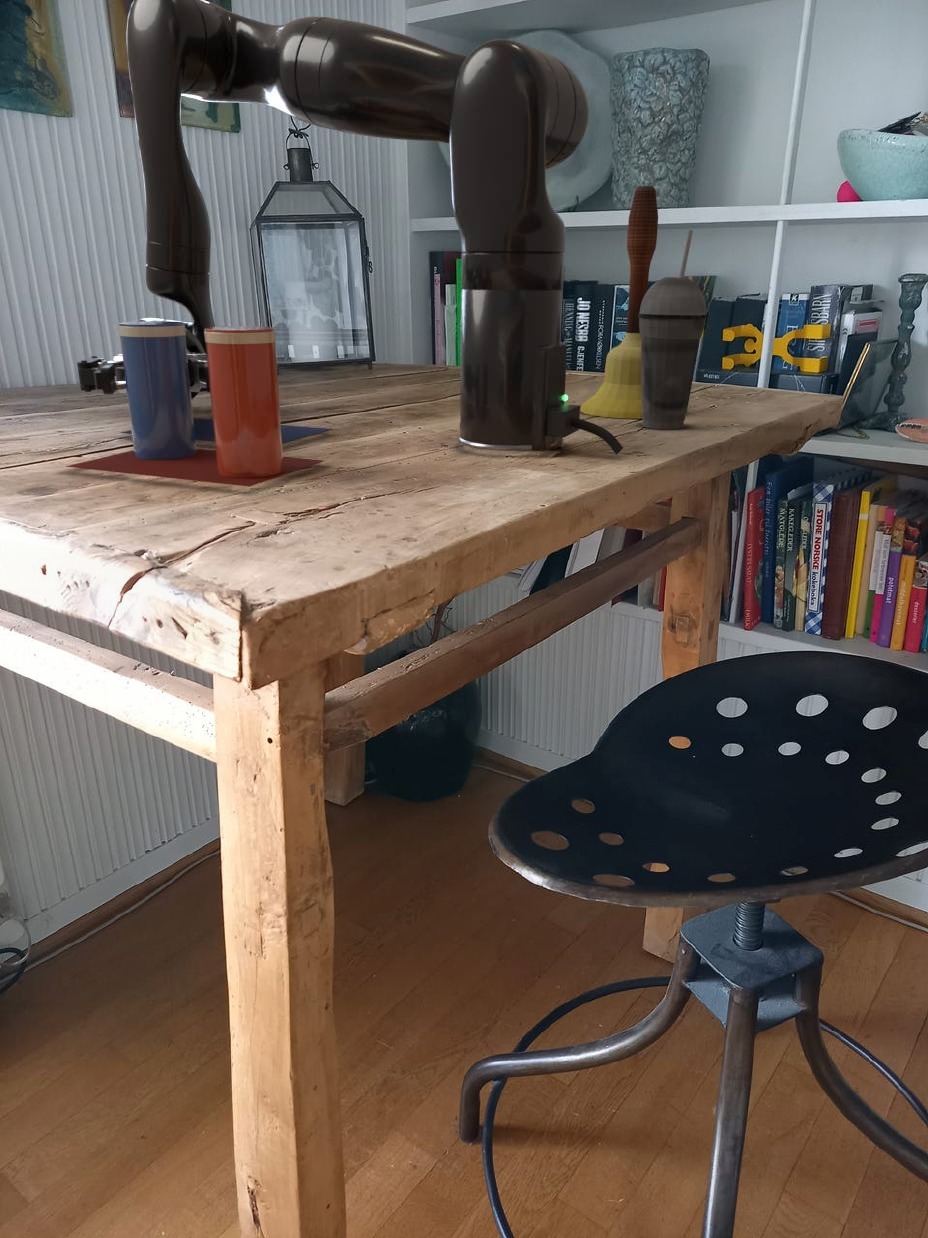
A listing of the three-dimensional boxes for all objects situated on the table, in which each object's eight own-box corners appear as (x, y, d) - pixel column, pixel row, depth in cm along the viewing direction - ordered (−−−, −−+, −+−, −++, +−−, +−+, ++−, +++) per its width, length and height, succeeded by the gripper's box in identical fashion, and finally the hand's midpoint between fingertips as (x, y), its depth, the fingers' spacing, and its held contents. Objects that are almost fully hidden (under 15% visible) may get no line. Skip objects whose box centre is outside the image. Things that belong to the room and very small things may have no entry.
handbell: (676, 420, 104) (698, 180, 95) (570, 415, 107) (582, 182, 98) (684, 407, 115) (704, 190, 106) (588, 402, 118) (599, 192, 109)
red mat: (325, 467, 77) (325, 460, 77) (249, 493, 68) (249, 485, 68) (157, 451, 84) (156, 444, 83) (66, 473, 74) (65, 465, 74)
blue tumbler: (209, 451, 80) (197, 322, 76) (170, 462, 76) (155, 324, 72) (162, 447, 82) (147, 320, 78) (120, 457, 78) (103, 323, 74)
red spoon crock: (297, 468, 74) (288, 327, 70) (259, 480, 69) (248, 330, 65) (243, 462, 76) (232, 325, 72) (203, 474, 71) (188, 328, 67)
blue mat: (333, 434, 93) (333, 428, 93) (272, 452, 84) (272, 445, 83) (191, 423, 99) (191, 417, 99) (120, 438, 90) (119, 432, 90)
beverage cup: (646, 419, 105) (661, 231, 98) (706, 425, 101) (726, 230, 94) (618, 426, 99) (631, 229, 92) (680, 433, 95) (699, 227, 88)
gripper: (89, 325, 89) (63, 335, 75) (237, 324, 93) (240, 334, 78) (99, 402, 92) (76, 427, 77) (242, 399, 95) (247, 422, 80)
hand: (158, 380), depth 78 cm, fingers open, 8 cm apart
